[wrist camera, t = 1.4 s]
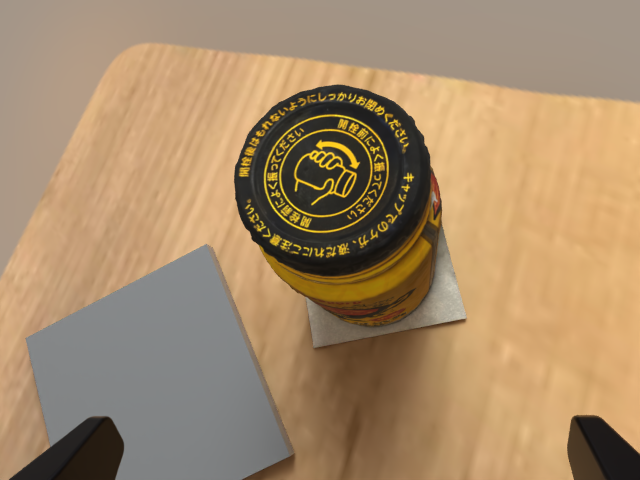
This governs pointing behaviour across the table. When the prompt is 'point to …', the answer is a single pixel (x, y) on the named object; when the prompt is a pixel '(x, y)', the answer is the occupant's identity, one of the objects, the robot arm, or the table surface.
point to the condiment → (349, 213)
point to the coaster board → (164, 376)
